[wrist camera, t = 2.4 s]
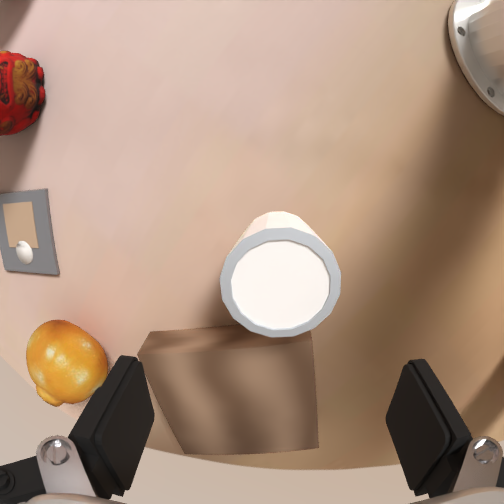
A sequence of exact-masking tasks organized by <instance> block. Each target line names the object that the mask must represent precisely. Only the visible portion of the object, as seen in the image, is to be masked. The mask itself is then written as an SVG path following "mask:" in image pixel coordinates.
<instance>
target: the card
mask: <svg viewBox="0 0 504 504" xmlns="http://www.w3.org/2000/svg"><path fill="white" fill-rule="evenodd" d="M0 250H1V255H2V259H3V264H4V268H5V270H10V271H20V272H31V273H43V274H54V275H58V274H59V273H60V272H59V267H58V262H57V256H56V251H55V245H54V239H53V232H52V225H51V217H50V209H49V200H48V190H47V189H37V190H28V191H19V192H11V193H3V194H0Z"/></svg>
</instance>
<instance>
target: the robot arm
mask: <svg viewBox="0 0 504 504" xmlns="http://www.w3.org/2000/svg"><path fill="white" fill-rule="evenodd" d="M448 28H449V36H450V40H451V45H452V48H453V51H454V54H455V56H456V59H457V62H458V64H459V66H460V68H461V70H462V72H463V74H464V75H465V77H466V79H467V80H468V82H469V83H470V85H471V86H472V88H473V89H474V90H475V91H476V93H477V94H478V95H479V97H480V98H481V99H482V100H483V101H484V102H485V103H486V104H487V105H488V106H489V107H491V108H492V109H494V110H495V111H496V112H498V113H499V114H501V115H504V0H455V1H454V2H453V3H452V5H451V8H450V11H449V17H448ZM153 422H154V410H153V406H152V402H151V398H150V394H149V390H148V386H147V382H146V377H145V373H144V368H143V364H142V362H140V361H138V359H137V358H136V357H132V356H124V355H121V356H120V357H119V358H118V360H117V361H116V363H115V365H114V366H113V368H112V370H111V371H110V373H109V374H108V376H107V378H106V379H105V381H104V383H103V384H102V386H101V387H98V388H97V389H96V390H95V392H94V394H93V395H92V397H91V399H90V400H89V402H88V404H87V405H86V407H85V409H84V410H83V412H82V414H81V415H80V417H79V419H78V420H77V422H76V424H75V426H74V428H73V429H72V431H71V433H70V434H69V436H68V438H67V437H64V436H58V435H57V436H51V437H48V438H46V439H44V440H43V441H42V442H41V443H40V444H39V445H38V448H37V451H36V454H37V455H36V456H34V457H31V458H27V459H24V460H20V461H17V462H14V463H10V464H6V465H3V466H0V504H125V503H121V502H117V501H112V500H109V499H110V498H111V496H112V494H115V495H118V496H122V497H123V494H124V492H125V490H129V489H130V487H131V484H132V482H133V478H134V475H135V473H136V470H137V467H138V464H139V461H140V458H141V455H142V453H143V450H144V447H145V444H146V441H147V439H148V436H149V433H150V430H151V427H152V425H153ZM386 424H387V426H388V429H389V432H390V435H391V437H392V440H393V443H394V446H395V448H396V451H397V454H398V457H399V460H400V463H401V466H402V468H403V471H404V474H405V477H406V480H407V483H408V486H409V488H410V490H414V493H415V496H420V495H423V494H427V493H428V495H429V498H430V499H426V500H423V501H418V502H414V503H410V504H504V457H502V455H503V451H502V448H501V446H500V444H499V443H498V442H497V441H496V440H495V439H493V438H491V437H487V436H480V437H477V438H474V439H473V438H472V436H471V433H470V432H469V430H468V428H467V426H466V425H465V423H464V421H463V419H462V418H461V416H460V414H459V413H458V411H457V409H456V408H455V406H454V404H453V403H452V401H451V399H450V398H449V396H448V394H447V393H446V391H445V390H444V388H443V386H442V385H441V383H440V382H439V380H438V378H437V377H436V375H435V374H434V372H433V371H432V369H431V368H430V366H429V364H428V363H427V361H426V360H425V359H417V360H410V361H409V362H408V364H406V365H404V367H403V370H402V373H401V376H400V379H399V382H398V384H397V387H396V390H395V393H394V396H393V398H392V401H391V404H390V406H389V409H388V412H387V414H386Z"/></svg>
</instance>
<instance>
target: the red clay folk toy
mask: <svg viewBox="0 0 504 504" xmlns="http://www.w3.org/2000/svg"><path fill="white" fill-rule="evenodd" d="M43 78H44V72H43V69H42V68H41V67H39V63H38V61H37V60H35V59H33V58H26V57H25V56H23V55H21V54H19V53H11V52H9V51H1V52H0V136H1V135H11V134H15V133H18V132H20V131H22V130H24V129H25V128H26V127H28V126H30V125H31V124H32V123H34V122H35V121H36V119H37V118H38V117H39V114H40V107H41V104H42V103H43V101H44V98H45V89H44V87H43V86H42V79H43Z"/></svg>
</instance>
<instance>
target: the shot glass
mask: <svg viewBox="0 0 504 504" xmlns="http://www.w3.org/2000/svg"><path fill="white" fill-rule="evenodd" d="M340 285H341V271H340V269H339V267H338V264H337V262H336V259H335V257H334V255H333V252H332V251H331V250H330V249H329V248H328V246H327V245H326V244H325V243H324V242H323V241H322V240H321V239H320V238H319V237H318V236H317V235H316V233H315V232H314V231H313V230H312V229H311V228H310V227H309V226H308V225H307V224H306V223H305V222H304V221H303V220H301V219H300V218H299V217H298V216H296V215H293V214H290V213H287V212H284V211H282V212H268V213H266V214H264V215H262V216H260V217H257V218H255V219H254V221H253V222H252V223H251V224H250V225H249V226H248V227H247V228H246V229H245V231H244V232H243V234H242V235H241V237H240V238H239V240H238V241H237V243H236V244H235V245H234V247H233V248H232V250H231V251H230V253H229V254H228V256H227V257H226V260H225V263H224V266H223V269H222V273H221V276H220V286H221V294H222V300H223V302H224V304H225V305H226V307H227V309H228V310H229V312H230V314H231V315H232V317H233V318H234V319H235V320H236V321H238V322H239V323H240V324H242V325H243V326H244V327H246V328H247V329H248V330H250V331H252V332H255V333H258V334H262V335H265V336H268V337H292V336H296V335H299V334H301V333H304V332H306V331H308V330H311V329H313V328H315V327H316V326H317V325H318V324H320V323H321V322H322V321H323V320H324V319H325V318H326V317H327V316H328V315H329V314H331V312H332V310H333V308H334V306H335V304H336V301H337V299H338V297H339V295H340Z"/></svg>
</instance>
